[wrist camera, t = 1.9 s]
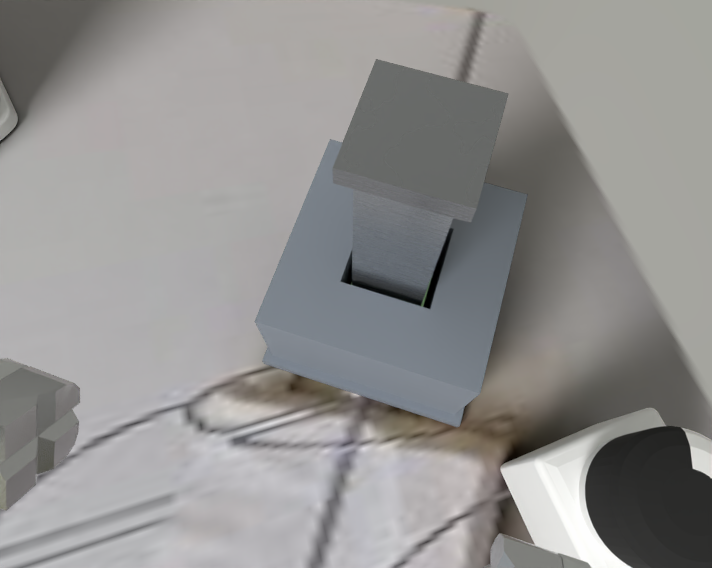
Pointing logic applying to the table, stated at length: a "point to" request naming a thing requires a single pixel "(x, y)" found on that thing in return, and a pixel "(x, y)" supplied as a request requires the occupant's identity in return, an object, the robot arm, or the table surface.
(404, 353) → the stand
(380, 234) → the column
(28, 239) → the table surface
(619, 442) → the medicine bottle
